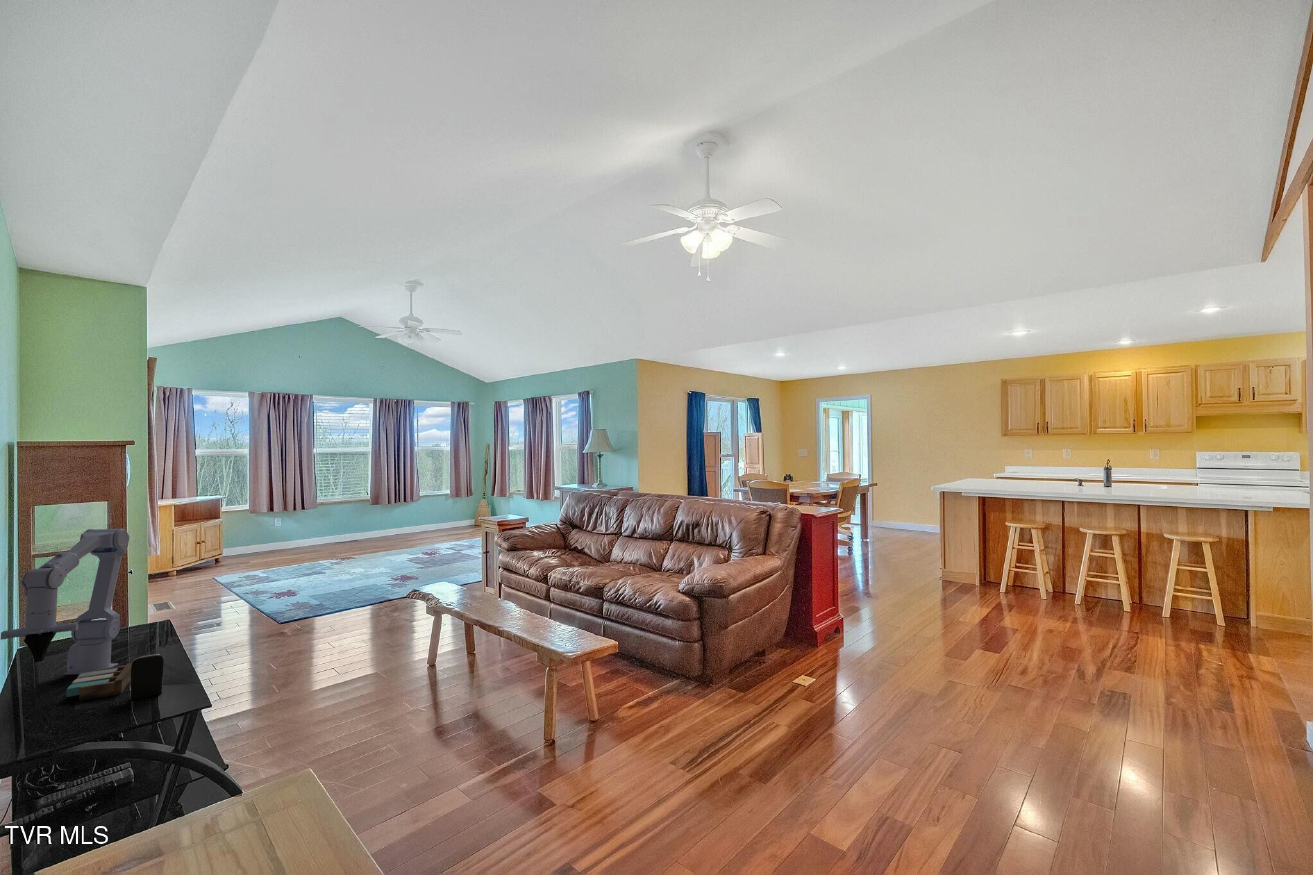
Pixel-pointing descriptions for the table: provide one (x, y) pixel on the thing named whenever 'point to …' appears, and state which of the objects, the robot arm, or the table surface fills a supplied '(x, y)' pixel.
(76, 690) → the teal flat slab
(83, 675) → the light grey rectangular block
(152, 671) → the battery charger
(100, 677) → the off-white rectangular box
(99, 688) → the walnut key block
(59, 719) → the table surface
